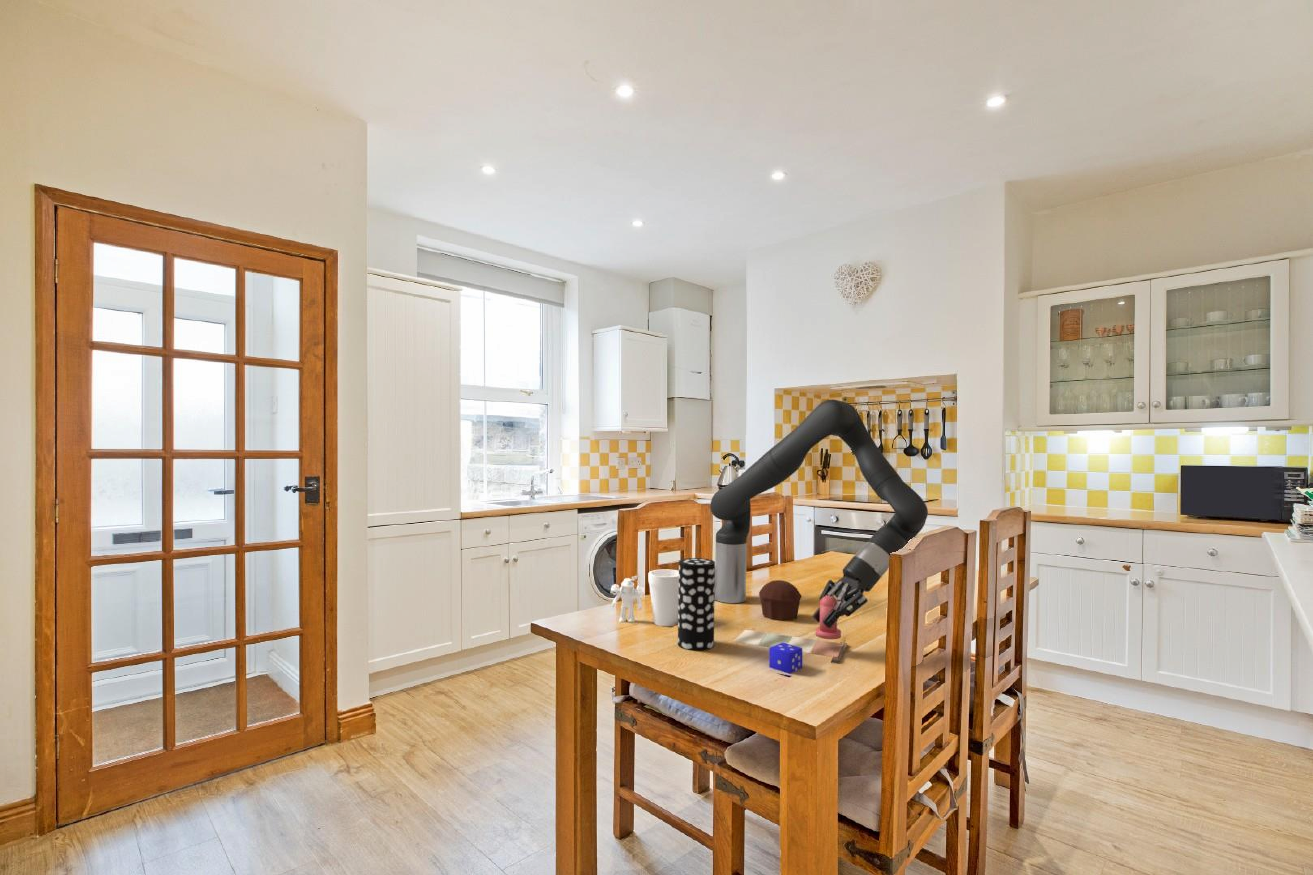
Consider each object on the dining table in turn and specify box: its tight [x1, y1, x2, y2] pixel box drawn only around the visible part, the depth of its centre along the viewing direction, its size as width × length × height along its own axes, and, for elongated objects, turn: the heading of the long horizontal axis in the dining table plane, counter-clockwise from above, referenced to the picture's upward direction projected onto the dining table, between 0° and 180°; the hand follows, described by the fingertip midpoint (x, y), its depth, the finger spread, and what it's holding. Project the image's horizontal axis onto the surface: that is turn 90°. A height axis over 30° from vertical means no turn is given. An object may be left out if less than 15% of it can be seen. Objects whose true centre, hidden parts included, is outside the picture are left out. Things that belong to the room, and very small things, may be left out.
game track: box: [732, 629, 848, 664], centre depth 148 cm, size 25×13×1 cm, turn 66°
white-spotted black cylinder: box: [677, 557, 715, 652], centre depth 146 cm, size 8×8×20 cm
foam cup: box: [647, 568, 679, 627], centre depth 165 cm, size 10×9×13 cm
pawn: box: [815, 595, 842, 640], centre depth 144 cm, size 6×6×9 cm
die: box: [768, 643, 803, 678], centre depth 132 cm, size 5×5×5 cm
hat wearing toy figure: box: [610, 574, 645, 623], centre depth 167 cm, size 9×4×12 cm, turn 80°
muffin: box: [758, 579, 802, 622], centre depth 170 cm, size 12×11×10 cm
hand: (820, 622), depth 144 cm, fingers closed on pawn, 3 cm apart
